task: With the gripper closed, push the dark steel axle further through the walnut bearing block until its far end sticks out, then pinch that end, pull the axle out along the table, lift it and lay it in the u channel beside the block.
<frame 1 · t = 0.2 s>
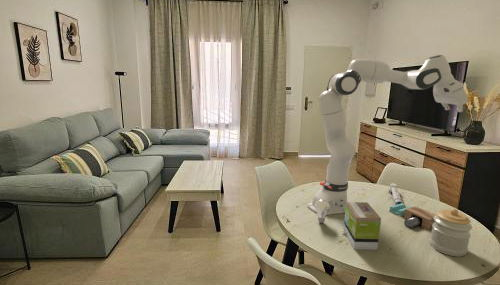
hand: (454, 110, 142), 54 cm above the table, tool tilted 30°, fingers open, 8 cm apart
bearing block: (420, 222, 138), on the table
light bulb: (321, 223, 136), on the table
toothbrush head: (394, 199, 167), on the table
tea box: (359, 240, 122), on the table
u channel: (400, 211, 149), on the table
axle: (418, 224, 137), on the table
jar: (447, 248, 117), on the table
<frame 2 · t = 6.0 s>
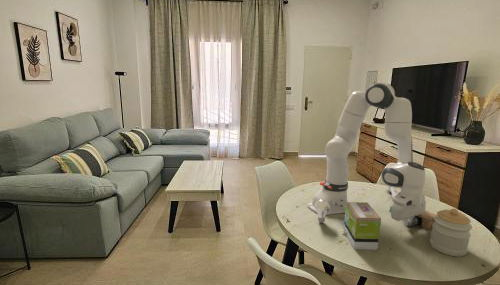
hand: (406, 224, 132), 2 cm above the table, tool pointing down, fingers closed
axle: (418, 223, 137), on the table, tilted 22°, touching gripper
everything else where it was.
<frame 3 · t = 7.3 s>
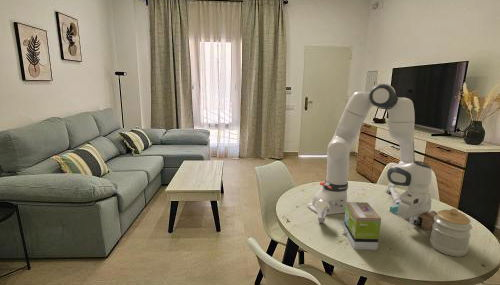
hand: (412, 222, 135), 2 cm above the table, tool pointing down, fingers closed
axle: (424, 221, 140), on the table, tilted 15°
everything else where it was.
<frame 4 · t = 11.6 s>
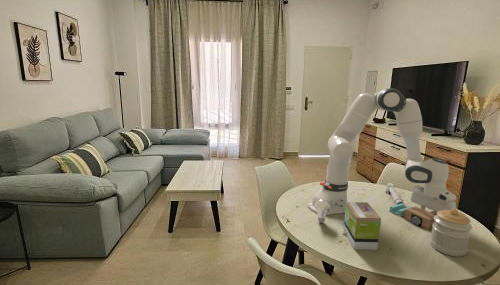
hand: (429, 217, 141), 2 cm above the table, tool pointing down, fingers closed on axle, 4 cm apart
axle: (424, 221, 139), on the table, touching gripper
everything else where it was.
when the fingers open (5 cm above the table, at t = 19.4 s): axle stays where it is, resting on u channel.
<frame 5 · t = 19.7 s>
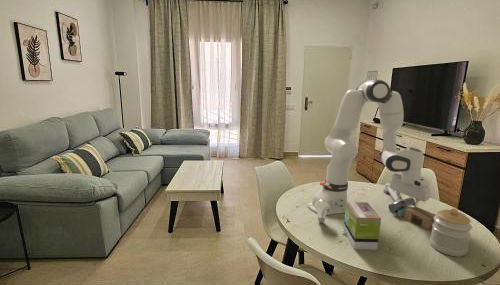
hand: (406, 202, 150), 5 cm above the table, tool pointing down, fingers open, 7 cm apart
axle: (401, 207, 149), point 2 cm above the table, tilted 5°, touching u channel
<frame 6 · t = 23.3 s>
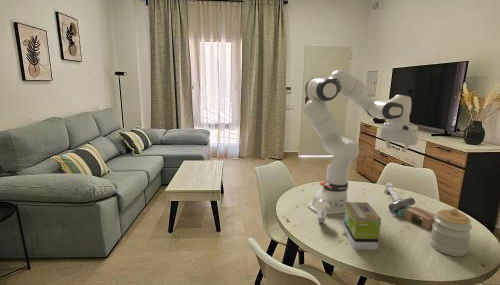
hand: (396, 149, 154), 31 cm above the table, tool pointing down, fingers open, 8 cm apart
at the end: axle 0.2 cm off-centre on the u channel, point 2.3 cm above the u channel's base; axle touching u channel; the gripper is holding nothing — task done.
